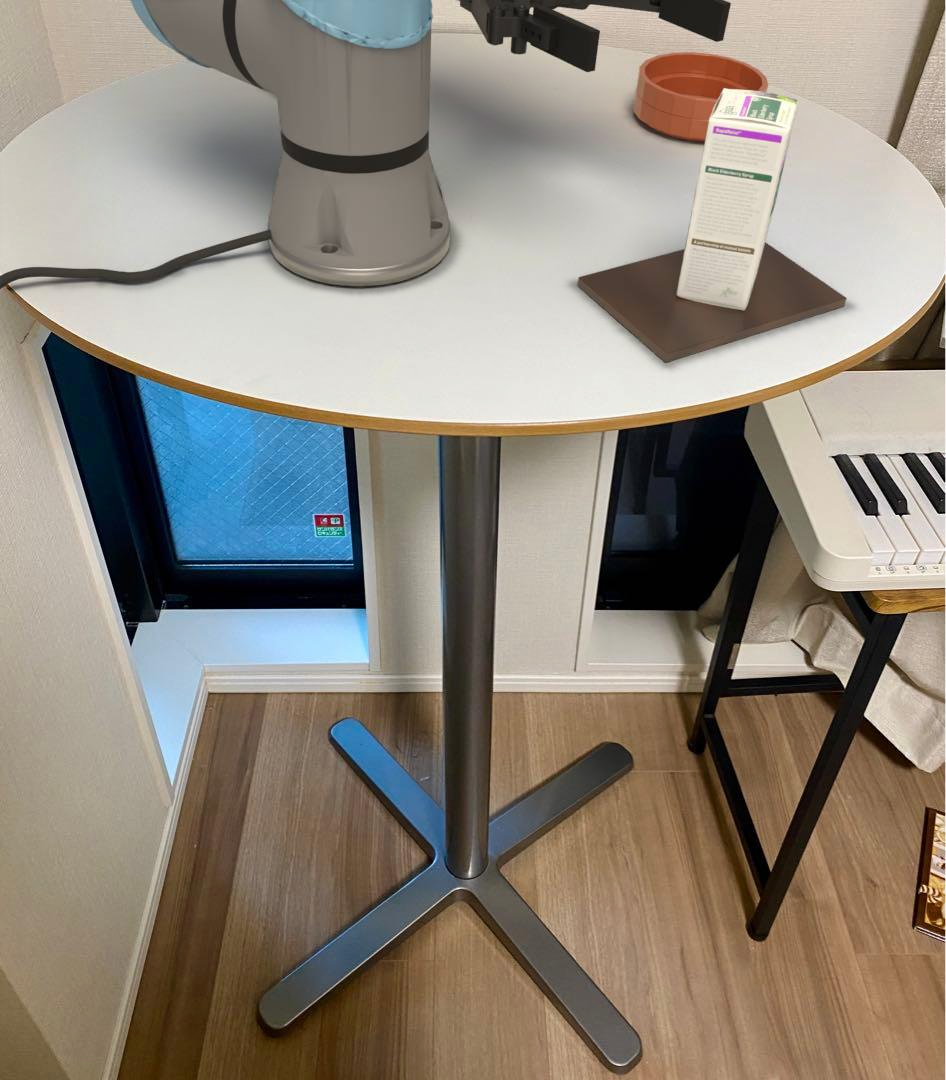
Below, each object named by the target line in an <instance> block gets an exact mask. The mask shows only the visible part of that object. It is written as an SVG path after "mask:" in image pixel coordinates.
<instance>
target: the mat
mask: <svg viewBox="0 0 946 1080" xmlns="http://www.w3.org/2000/svg"><path fill="white" fill-rule="evenodd" d="M684 250H685V248H683V249H680V250H675V251H672V252H668V253H664V254H661V255H657V256H653V257H648V258H645V259H642V260H638V261H634V262H630V263H627V264H623V265H619V266H616V267H612V268H608V269H603V270H600V271H597V272H593V273H589V274H585V275H582V276H578V279H577V287H578V288H580V289H581V290H582V292H584V293H585V294H586V295H588V296H589V297H590V298H592V300H593V301H595V302H596V304H598V305H599V306H600V307H601V308H602V309H604V310H605V311H606V312H607V313H608V314H609V315H610V316H611V317H612V318H614V319H615V320H616V321H617V322H618V323H619V324H620V325H622V326H623V327H624V328H625V329H626V330H627V331H628V332H630V333H631V334H632V335H633V336H634V337H635V338H637V339H638V340H639V341H640V342H641V343H642V344H643V345H645V346H646V348H648V349H649V350H651V351H652V353H654V355H656V356H657V357H658V358H659V359H660V360H661V361H663V362H664V363H669V362H671V361H675V360H679V359H682V358H684V357H688V356H691V355H694V354H697V353H700V352H703V351H708V350H710V349H713V348H716V347H719V346H722V345H726V344H728V343H732V342H735V341H738V340H741V339H745V338H748V337H751V336H754V335H757V334H760V333H765V332H768V331H771V330H773V329H776V328H779V327H782V326H786V325H790V324H792V323H796V322H798V321H799V322H800V321H802V320H806V319H808V318H811V317H814V316H818V315H821V314H824V313H827V312H830V311H833V310H837V309H840V308H843V307H844V306H845V304H846V301H847V296H845V295H843V294H842V293H840V292H839V291H837V290H836V289H835V288H833V287H832V286H831V285H829V284H827V283H826V282H824V281H822V279H820V278H819V277H817V276H816V275H813V273H811V272H809V271H808V270H807V269H805V268H804V267H802V266H801V265H800V264H798V263H797V262H795V261H794V260H792V259H790V258H789V257H788V256H786V255H785V254H783V253H782V252H780V251H779V250H777V249H776V248H775V247H773V246H771V245H770V244H769V243H767V242H766V241H765V244H764V248H763V252H762V256H761V260H760V264H759V268H758V272H757V275H756V279H755V283H754V286H753V290H752V293H751V296H750V299H749V302H748V305H747V307H746V310H739V309H733V308H727V307H722V306H717V305H711V304H706V303H702V302H697V301H693V300H689V299H685V298H681V297H678V296H677V294H676V293H677V287H678V281H679V276H680V271H681V265H682V260H683V255H684Z"/></svg>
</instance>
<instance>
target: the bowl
mask: <svg viewBox="0 0 946 1080" xmlns="http://www.w3.org/2000/svg"><path fill="white" fill-rule="evenodd" d="M636 80H637V81H636V85H635V94H634V99H633V100H634V101H633V113H634V114H635V116H636V117H637V118H638V119H639V120H640V121H641V122H643V123H644V124H646V125H647V126H648V127H650V128H651V129H653V130H654V131H657V132H659V133H661V134H664V135H666V136H670V137H673V138H676V139H680V140H686V141H692V142H693V141H694V142H704V143H705V140H706V134H707V129H708V123H709V118H710V116H711V114H712V111H713V108H714V106H715V104H716V102H717V100H718V99H719V97H720V95H721V92H722V91H723V88H726V89H739V90H753V91H761V92H768V87H769V82H768V78H767V76H766V75H765V74H764V73H763V72H762V71H761V70H759V69H758V68H756V67H754V66H752V65H751V64H748V63H747V62H744V61H741V60H738V59H736V58H732V57H727V56H725V55H719V54H713V53H704V52H694V51H692V52H691V51H688V52H687V51H685V52H684V51H683V52H669V53H664V54H658V55H655V56H652V57H650V58H648V59H646V60H644V61H643V63H641V65H639V67H638V74H637V79H636Z"/></svg>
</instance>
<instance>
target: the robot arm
mask: <svg viewBox="0 0 946 1080" xmlns="http://www.w3.org/2000/svg"><path fill="white" fill-rule="evenodd" d="M129 1H130V3H131V5H132V7H133V9H134V12H135V13H136V15H137V17H138V18H139V19H140V21H141V22H142V24H143V25H144V27H145V28H146V29H147V31H149V33H150V34H151V35H152V36H153V37H154V38H155V39H157V40H158V41H159V42H160V43H161V44H163V45H164V46H166V47H168V48H169V49H171V50H173V51H174V52H175V53H177V54H179V55H181V56H182V57H184V58H185V59H186V60H187V61H189V62H191V63H193V64H196V65H197V66H201V67H203V68H205V69H213V70H215V71H218V72H220V73H223V74H225V75H227V76H230V77H232V78H234V79H236V80H239V81H242V82H244V83H246V84H248V85H251V86H254V87H256V88H258V89H260V90H263V91H266V92H268V93H270V94H272V95H275V97H276V101H277V110H278V121H279V128H280V130H279V131H280V141H281V150H282V151H281V152H282V153H281V159H280V163H279V167H278V171H277V175H276V176H277V177H276V180H275V186H274V190H273V193H272V194H273V195H272V199H271V202H270V208H269V212H268V218H267V219H268V221H267V229H266V230H263V231H260V232H256V233H252V234H248V235H245V236H242V237H238V238H233V239H231V240H228V241H224V242H221V243H218V244H214V245H211V246H208V247H203V248H201V249H197V250H194V251H192V252H188V253H185V254H181V255H180V256H177V257H174V258H172V259H171V260H168V261H166V262H165V263H164V262H163V264H160V265H158V266H155V267H153V268H150V269H145V270H139V271H121V270H113V269H107V268H71V267H55V266H54V267H53V266H30V267H29V266H27V267H21V268H16V269H12V270H10V271H7V272H5V273H3V274H1V275H0V290H2V289H3V288H4V287H6V286H7V285H9V284H10V283H12V282H15V281H18V280H22V279H28V278H29V279H30V278H58V279H59V278H60V279H61V278H62V279H80V280H81V279H82V280H84V279H85V280H86V279H102V280H110V281H116V282H125V283H139V282H145V281H150V280H153V279H157V278H160V277H162V276H164V275H166V274H169V273H170V272H172V271H174V270H176V269H178V268H180V267H183V266H186V265H188V264H191V263H195V262H199V261H201V260H204V259H207V258H210V257H213V256H217V255H221V254H223V253H224V254H225V253H228V252H230V251H234V250H237V249H241V248H246V247H247V246H251V245H254V244H258V243H262V242H265V241H269V243H268V244H269V247H270V251H271V253H272V255H273V256H274V258H275V259H276V260H277V262H279V264H281V265H282V266H283V267H285V268H286V269H287V270H289V271H291V272H293V273H295V274H296V275H299V276H301V277H303V278H306V279H309V280H312V281H315V282H319V283H323V284H329V285H336V286H343V287H372V286H383V285H389V284H394V283H399V282H402V281H407V280H409V279H412V278H415V277H417V276H419V275H422V274H424V273H425V272H428V271H429V270H431V269H432V268H434V267H436V265H437V264H439V263H440V262H441V261H442V260H443V259H444V257H445V256H446V255H447V253H448V251H449V248H450V242H451V221H450V217H449V211H448V208H447V205H446V202H445V199H444V198H445V197H444V192H443V189H442V185H441V182H440V181H439V178H438V175H437V172H436V169H435V167H434V164H433V161H432V158H431V155H430V109H431V107H430V105H431V63H432V61H431V60H432V58H431V57H432V23H433V17H434V16H433V2H432V0H129ZM456 1H457V2H459V6H460V8H462V9H464V10H466V11H467V12H469V13H471V16H472V17H473V19H474V21H475V22H476V24H477V26H478V28H479V29H480V31H481V33H482V35H483V37H484V39H485V41H486V43H487V44H490V45H491V46H500V45H503V44H504V38H511V40H510V53H511V54H514V55H524V54H527V48H528V47H527V46H528V43H529V46H532V47H533V48H536V49H538V50H540V51H542V52H544V53H546V54H548V55H550V56H552V57H555V58H556V59H558V60H561V61H562V62H565V63H567V64H569V65H571V66H572V67H575V68H577V69H579V70H581V71H582V72H585V73H591V72H595V71H596V65H597V58H598V51H599V50H598V49H599V42H600V35H601V30H600V29H598V28H595V27H593V26H591V25H589V24H586V23H584V22H582V21H579V20H577V19H575V18H572V17H570V16H568V15H566V14H563V13H562V12H559V11H557V10H555V9H557V8H564V9H570V10H571V9H572V10H578V11H579V10H580V11H585V10H587V9H588V8H589V6H600V7H610V8H617V9H625V10H633V11H641V12H648V13H649V12H650V13H657V14H658V19H660V20H662V21H665V22H667V23H669V24H672V25H673V26H677V27H680V28H682V29H684V30H686V31H689V32H692V33H694V34H696V35H699V36H701V37H704V38H706V39H708V40H711V41H713V42H716V43H719V42H722V41H724V38H725V33H726V29H727V23H728V19H729V14H730V9H731V5H732V2H729V1H727V0H456ZM531 9H532V13H531V12H530V11H531Z"/></svg>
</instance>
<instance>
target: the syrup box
mask: <svg viewBox="0 0 946 1080" xmlns="http://www.w3.org/2000/svg"><path fill="white" fill-rule="evenodd" d="M798 106H799V100H798V99H796V98H794V97H791V96H785V95H782V94H777V93H774V92H768V91H767V92H761V91H753V90H739V89H726V88H723V91H722V92H721V95H720V97H719V99H718V100H717V102H716V104H715V106H714V108H713V111H712V114H711V116H710V118H709V123H708V129H707V134H706V140H705V142H704V146H703V149H702V156H701V161H700V165H699V171H698V176H697V180H696V187H695V191H694V192H695V193H694V198H693V202H692V208H691V213H690V217H689V224H688V229H687V233H686V240H685V244H684V245H685V246H684V249H685V250H684V255H683V260H682V265H681V271H680V276H679V281H678V287H677V293H676V294H677V296H678V297H681V298H685V299H689V300H693V301H697V302H702V303H706V304H711V305H717V306H722V307H727V308H733V309H739V310H746V307H747V305H748V302H749V299H750V296H751V293H752V290H753V286H754V283H755V279H756V275H757V272H758V268H759V264H760V260H761V256H762V252H763V248H764V244H765V242H766V241H767V237H768V233H769V228H770V225H771V222H772V218H773V215H774V211H775V207H776V202H777V200H778V199H777V198H778V193H779V189H780V185H781V182H782V181H781V180H782V177H783V171H784V167H785V162H786V157H787V153H788V149H789V145H790V140H791V135H792V133H793V128H794V123H795V119H796V115H797V110H798V108H799V107H798Z"/></svg>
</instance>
